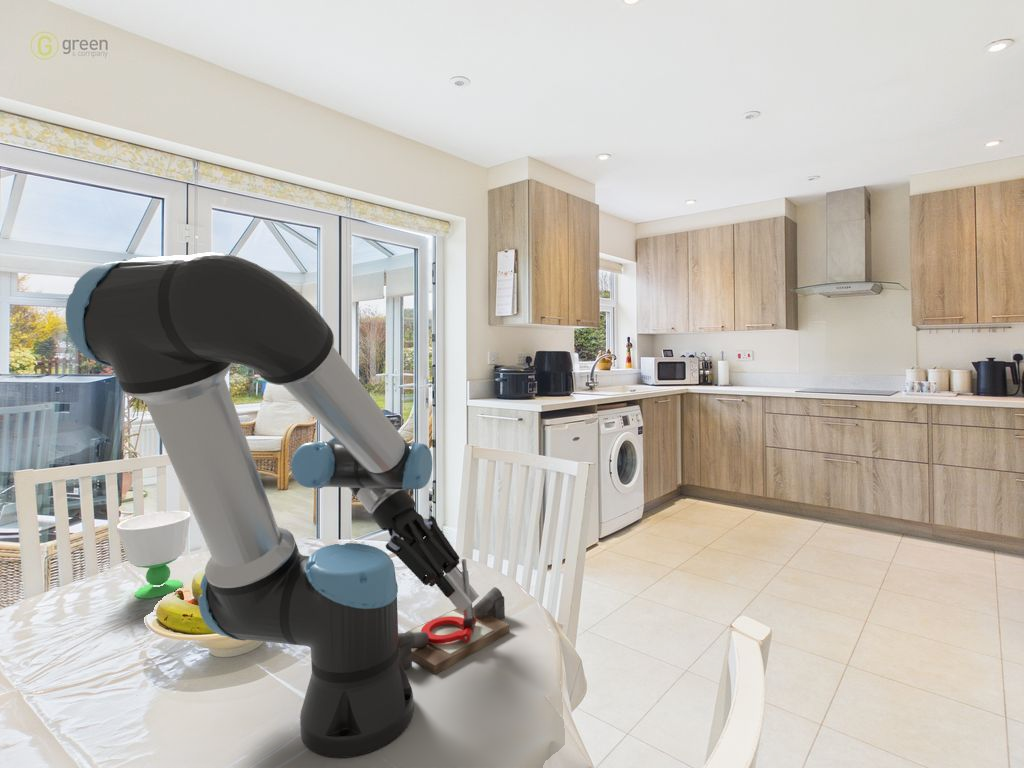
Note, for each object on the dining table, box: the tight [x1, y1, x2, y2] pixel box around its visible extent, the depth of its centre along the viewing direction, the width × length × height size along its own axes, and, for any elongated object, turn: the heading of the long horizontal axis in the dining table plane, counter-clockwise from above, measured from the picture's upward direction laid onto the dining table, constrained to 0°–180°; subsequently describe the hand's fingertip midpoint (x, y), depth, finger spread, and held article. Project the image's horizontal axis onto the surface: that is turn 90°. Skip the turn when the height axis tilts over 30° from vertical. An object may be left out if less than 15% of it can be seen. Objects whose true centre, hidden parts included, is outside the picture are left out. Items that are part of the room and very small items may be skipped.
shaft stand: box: [398, 586, 511, 675], centre depth 95 cm, size 24×12×6 cm, turn 136°
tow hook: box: [421, 558, 477, 643], centre depth 94 cm, size 8×13×9 cm
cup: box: [116, 510, 191, 600], centre depth 119 cm, size 14×14×16 cm
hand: (470, 604), depth 93 cm, fingers closed
